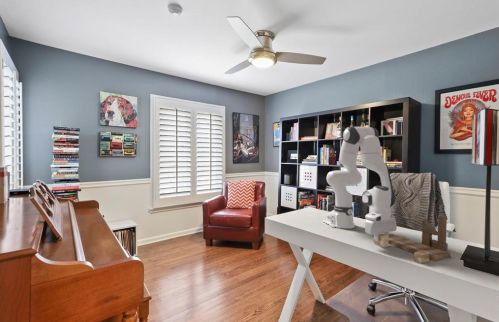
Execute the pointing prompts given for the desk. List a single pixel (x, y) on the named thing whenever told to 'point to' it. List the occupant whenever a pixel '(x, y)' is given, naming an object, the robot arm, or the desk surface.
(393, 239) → the board
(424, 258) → the stop block
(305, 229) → the desk surface
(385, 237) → the gauge block
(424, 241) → the brown wooden upright frame
